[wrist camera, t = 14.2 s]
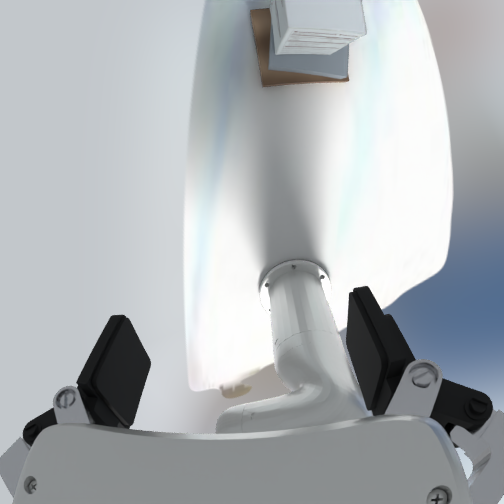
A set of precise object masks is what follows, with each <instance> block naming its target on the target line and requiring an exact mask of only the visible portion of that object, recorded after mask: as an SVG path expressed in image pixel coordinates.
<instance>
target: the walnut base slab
mask: <svg viewBox="0 0 504 504" xmlns="http://www.w3.org/2000/svg"><path fill="white" fill-rule="evenodd" d="M250 15H251V20H252V26H253V32H254V37H255V43H256V49H257V55H258V61H259V67H260V73H261V80H262V86H263V87H269V86H279V85H290V84H305V83H331V82H348V81H349V77H348V76H347V77H346V78H343V79H336V78H331V77H325V76H318V75H311V74H304V73H295V72H286V71H275V70H268V65H269V48H270V30H271V13H270V8H266V9H255V10H250Z"/></svg>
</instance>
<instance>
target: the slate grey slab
mask: <svg viewBox="0 0 504 504" xmlns="http://www.w3.org/2000/svg"><path fill="white" fill-rule="evenodd" d="M348 55H349V44H348V45H346V46H344V47H343V48H341V49H339V50H338V51H336V52H334V53H332V54H331V55H318V54H279V55H275V47H274V35H273V26H272V18H271V30H270V48H269V65H268V70H275V71H286V72H295V73H304V74H311V75H318V76H325V77H331V78H336V79H343V78H346V77H347V76H348Z"/></svg>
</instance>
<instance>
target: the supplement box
mask: <svg viewBox="0 0 504 504" xmlns="http://www.w3.org/2000/svg"><path fill="white" fill-rule="evenodd" d="M270 13H271V18H272V26H273V35H274V47H275V55H279V54H318V55H331V54H332V53H334V52H336V51H338V50H339V49H341V48H343V47H344V46H346V45H348V44H349V43H351V42H353V41H355V40H356V39H358V38H360V37H362V36H364V35H366V34H367V30H366V23H365V18H364V12H363V6H362V0H271V4H270Z"/></svg>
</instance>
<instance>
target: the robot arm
mask: <svg viewBox="0 0 504 504" xmlns="http://www.w3.org/2000/svg"><path fill="white" fill-rule="evenodd" d="M330 295H331V283H330V280H329V277H328V275H327V273H326V272H325V271H324V270H323V269H322V268H321V267H320V266H318V265H317V264H315V263H313V262H310V261H306V260H291V261H287V262H284V263H282V264H279V265H277V266H276V267H274V268H273V269H271V270H270V271H269V272H268V273H267V275H266V276H265V277H264V279H263V281H262V283H261V287H260V299H261V303H262V305H263V307H264V308H265V310H266V311H267V312H268V313H269V314H270V315H271V326H272V338H273V351H274V362H275V370H276V372H277V375H278V377H279V379H280V380H281V382H282V383H283V384H284V385H285V386H286V387H287V388H288V389H289V390H291V391H292V392H291V393H287V394H283V395H282V396H278V397H274V398H269V399H265V400H260V401H255V402H251V403H246V404H241V405H237V406H233V407H231V408H228V409H227V410H225V411H224V412H223V413H222V414H221V415H220V416H219V418H218V420H217V424H216V434H187V433H186V434H185V433H166V432H152V431H142V430H132V429H129V428H130V426H131V425H132V424H133V423H134V419H135V416H136V412H137V409H138V405H139V402H140V398H141V395H142V392H143V389H144V386H145V382H146V379H147V376H148V373H149V370H150V366H151V361H150V358H149V356H148V355H147V353H146V351H145V349H144V347H143V345H142V343H141V342H140V340H139V337H138V335H137V334H136V332H135V330H134V327H133V325H132V324H131V321H130V320H129V318H126V316H125V315H113V316H111V317H110V319H109V321H108V323H107V324H106V326H105V328H104V330H103V332H102V334H101V335H100V337H99V339H98V341H97V343H96V345H95V346H94V348H93V350H92V352H91V354H90V356H89V358H88V360H87V362H86V364H85V366H84V368H83V370H82V372H81V374H80V376H79V378H78V380H77V382H76V383H77V384H78V387H77V388H76V387H73V386H66V387H64V388H62V389H60V390H59V391H58V392H57V393H56V395H55V397H54V399H53V406H54V407H53V408H52V409H50V410H48V411H47V412H45V413H43V414H42V415H40V416H38V417H36V418H35V419H33V420H32V421H30V422H29V423H27V425H26V426H25V428H24V430H23V439H22V438H21V437H20V438H19V439H18V440H17V441H16V442H15V443H14V444H13V445H12V446H11V447H10V448H9V449H8V450H7V451H6V452H5V453H4V454H3V455H2V456H1V457H0V475H1V477H2V479H3V481H4V482H5V484H6V486H7V488H8V490H9V491H10V493H11V495H12V496H13V498H14V500H13V504H497V503H498V502H499V501H500V499H501V498H502V496H503V495H504V413H503V412H502V411H500V410H498V411H497V412H496V411H495V410H493V405H492V401H491V400H490V398H489V397H488V396H487V395H486V394H484V393H482V392H480V391H477V390H474V389H471V388H468V387H465V386H463V385H460V384H456V383H454V382H451V381H449V380H446V379H443V378H442V371H441V369H440V367H439V366H438V365H437V364H436V363H434V362H432V361H430V360H425V359H421V360H416V359H415V358H414V356H413V354H412V352H411V350H410V348H409V346H408V344H407V342H406V340H405V339H404V337H403V335H402V333H401V331H400V330H399V328H398V326H397V324H396V322H395V321H394V319H393V317H392V316H391V315H390V314H386V315H384V314H383V312H382V310H381V308H380V306H379V305H378V303H377V301H376V299H375V298H374V296H373V294H372V292H371V290H370V289H369V287H368V286H364V287H358V288H354V290H353V292H350V293H349V305H348V322H347V335H346V345H347V349H348V351H349V354H350V357H351V361H352V364H353V367H354V370H355V373H356V376H357V379H358V382H359V384H358V383H357V380H356V378H355V376H354V374H353V372H352V369H351V367H350V364H349V362H348V359H347V356H346V353H345V350H344V347H343V344H342V341H341V338H340V335H339V332H338V329H337V326H336V323H335V320H334V317H333V314H332V312H331V309H330V306H329V303H328V300H329V298H330ZM458 447H460V448H461V449H463V450H464V451H465V455H466V456H467V457H469V458H470V459H471V461H472V463H473V472H472V474H471V475H470V477H469V479H468V480H467V479H466V475H465V472H464V469H463V467H462V464H461V461H460V458H459V456H458V453H457V451H456V449H455V448H458ZM430 491H431V492H430Z"/></svg>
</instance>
